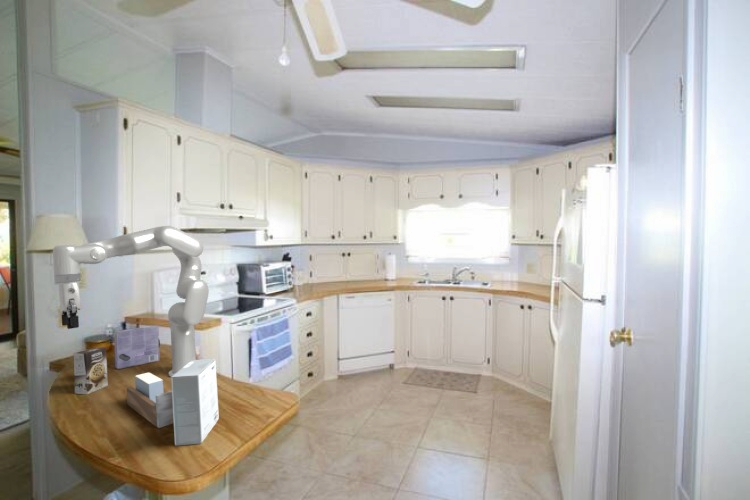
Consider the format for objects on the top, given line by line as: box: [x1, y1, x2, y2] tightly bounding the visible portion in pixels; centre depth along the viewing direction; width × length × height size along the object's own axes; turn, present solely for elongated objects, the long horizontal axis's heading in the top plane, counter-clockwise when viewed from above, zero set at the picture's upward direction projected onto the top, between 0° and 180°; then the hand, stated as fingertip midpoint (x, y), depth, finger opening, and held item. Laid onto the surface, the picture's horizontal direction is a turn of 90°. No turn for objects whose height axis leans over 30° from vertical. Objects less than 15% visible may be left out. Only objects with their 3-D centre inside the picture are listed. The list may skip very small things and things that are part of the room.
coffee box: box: [73, 346, 109, 395], centre depth 154 cm, size 9×6×16 cm
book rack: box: [126, 386, 174, 429], centre depth 132 cm, size 9×30×10 cm, turn 49°
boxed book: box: [134, 372, 164, 403], centre depth 136 cm, size 4×14×10 cm, turn 49°
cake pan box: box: [114, 325, 161, 370], centre depth 187 cm, size 19×5×18 cm, turn 134°
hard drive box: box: [170, 358, 220, 446], centre depth 115 cm, size 16×8×20 cm, turn 5°
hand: (70, 326), depth 138 cm, fingers open, 9 cm apart
